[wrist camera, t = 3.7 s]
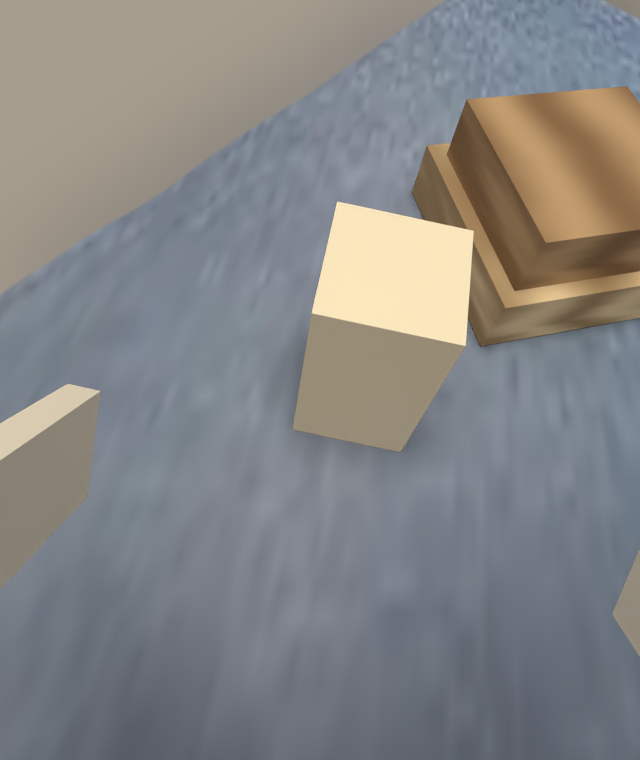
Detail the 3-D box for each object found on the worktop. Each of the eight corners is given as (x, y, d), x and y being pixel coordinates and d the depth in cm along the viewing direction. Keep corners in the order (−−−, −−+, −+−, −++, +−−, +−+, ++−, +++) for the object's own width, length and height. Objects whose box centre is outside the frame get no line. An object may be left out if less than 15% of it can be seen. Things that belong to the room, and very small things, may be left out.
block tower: (572, 173, 44) (633, 75, 37) (659, 314, 39) (750, 229, 32) (412, 192, 42) (445, 89, 35) (480, 346, 36) (536, 260, 29)
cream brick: (411, 359, 35) (473, 230, 25) (400, 452, 32) (465, 345, 23) (312, 338, 35) (337, 201, 25) (292, 429, 32) (311, 313, 22)
